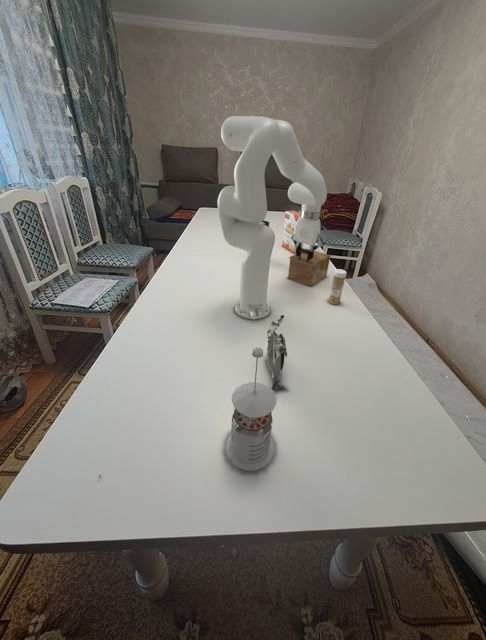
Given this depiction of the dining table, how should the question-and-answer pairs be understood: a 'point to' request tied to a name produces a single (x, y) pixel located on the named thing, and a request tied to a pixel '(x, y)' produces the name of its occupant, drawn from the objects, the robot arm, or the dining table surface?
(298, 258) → the lid
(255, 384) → the french press
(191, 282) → the dining table surface
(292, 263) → the wooden box
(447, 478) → the dining table surface
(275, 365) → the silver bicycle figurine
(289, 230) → the cracker box
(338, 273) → the sprinkles bottle
